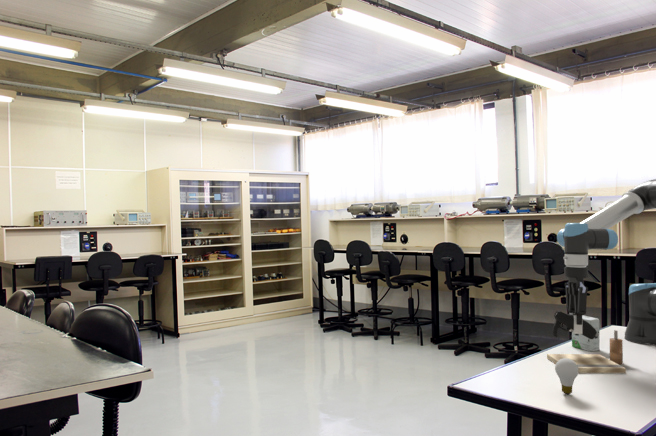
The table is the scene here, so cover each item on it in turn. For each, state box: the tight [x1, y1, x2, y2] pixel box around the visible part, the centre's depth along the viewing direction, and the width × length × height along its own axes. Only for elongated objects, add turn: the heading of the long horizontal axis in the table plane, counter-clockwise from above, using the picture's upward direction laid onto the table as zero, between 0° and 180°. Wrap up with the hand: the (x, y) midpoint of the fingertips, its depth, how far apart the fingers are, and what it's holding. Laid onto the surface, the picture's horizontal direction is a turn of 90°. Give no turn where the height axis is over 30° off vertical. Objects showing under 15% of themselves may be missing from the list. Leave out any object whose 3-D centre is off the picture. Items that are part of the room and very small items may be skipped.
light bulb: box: [554, 358, 579, 396], centre depth 139 cm, size 6×6×10 cm
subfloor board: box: [546, 353, 627, 374], centre depth 167 cm, size 18×17×2 cm
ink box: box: [571, 315, 600, 352], centre depth 190 cm, size 9×5×12 cm, turn 25°
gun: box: [552, 310, 600, 339], centre depth 177 cm, size 3×16×10 cm, turn 86°
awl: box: [609, 329, 624, 366], centre depth 170 cm, size 4×4×11 cm
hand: (575, 332), depth 177 cm, fingers closed on gun, 3 cm apart
